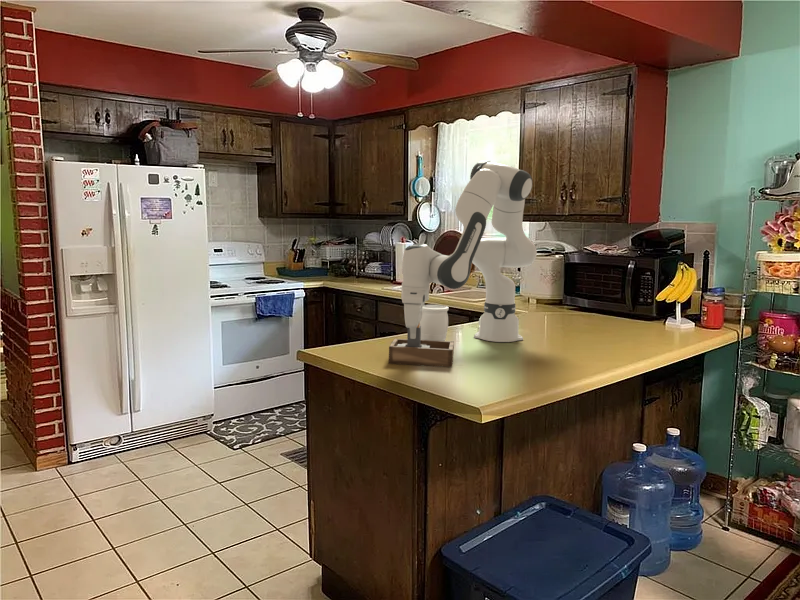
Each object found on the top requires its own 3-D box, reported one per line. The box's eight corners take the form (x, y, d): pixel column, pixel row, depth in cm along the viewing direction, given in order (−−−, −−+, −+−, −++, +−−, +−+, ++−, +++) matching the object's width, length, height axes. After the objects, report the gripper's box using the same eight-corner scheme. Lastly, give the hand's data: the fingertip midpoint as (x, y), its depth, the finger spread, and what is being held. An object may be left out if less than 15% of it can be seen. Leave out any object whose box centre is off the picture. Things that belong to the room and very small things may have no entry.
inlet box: (394, 354, 206) (394, 338, 205) (453, 357, 203) (453, 341, 202) (388, 363, 193) (389, 346, 192) (451, 367, 190) (452, 350, 190)
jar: (449, 346, 221) (451, 305, 219) (444, 352, 211) (445, 309, 209) (421, 343, 224) (422, 303, 222) (414, 349, 214) (415, 307, 212)
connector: (408, 346, 200) (409, 322, 199) (420, 346, 199) (421, 322, 198) (407, 348, 196) (407, 324, 195) (419, 349, 195) (420, 324, 194)
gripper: (408, 290, 206) (407, 330, 208) (401, 298, 186) (400, 342, 187) (427, 291, 205) (426, 331, 207) (422, 299, 185) (420, 343, 187)
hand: (413, 336), depth 197 cm, fingers closed on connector, 4 cm apart
